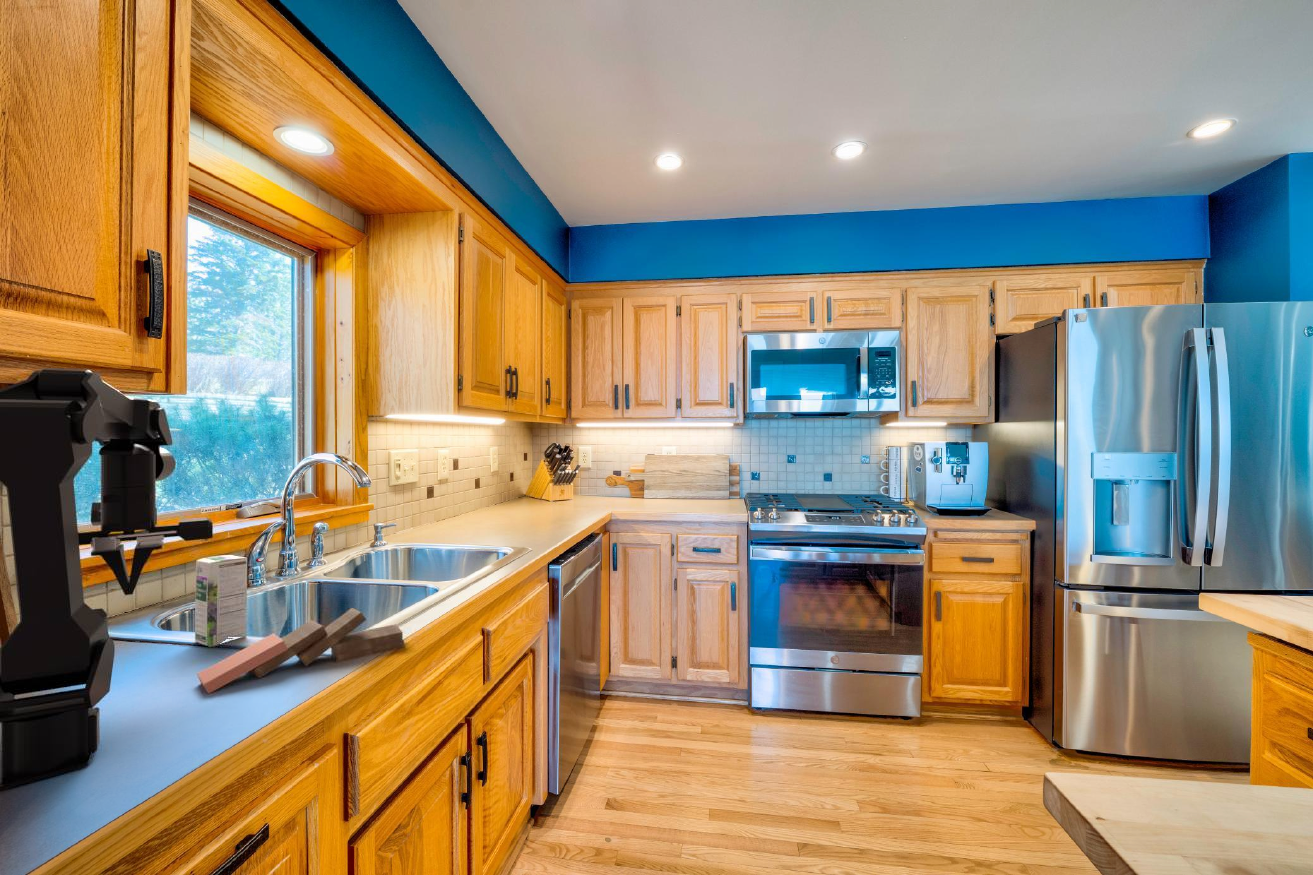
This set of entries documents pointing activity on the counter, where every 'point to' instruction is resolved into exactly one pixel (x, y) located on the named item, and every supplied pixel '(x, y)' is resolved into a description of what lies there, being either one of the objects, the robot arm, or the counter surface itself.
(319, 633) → the domino
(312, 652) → the domino
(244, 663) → the domino
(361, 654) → the domino
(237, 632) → the syrup box
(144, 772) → the counter surface
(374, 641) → the domino
